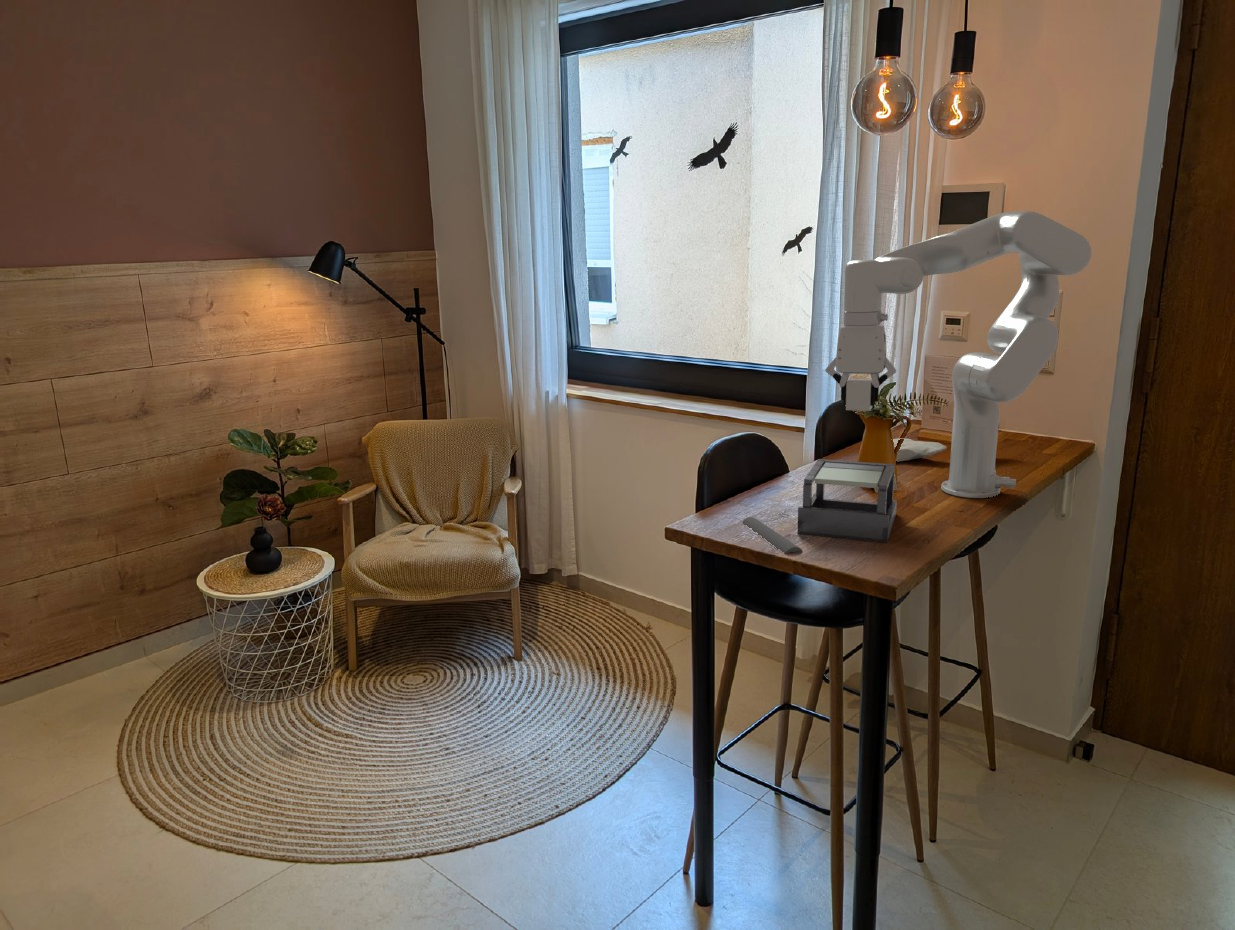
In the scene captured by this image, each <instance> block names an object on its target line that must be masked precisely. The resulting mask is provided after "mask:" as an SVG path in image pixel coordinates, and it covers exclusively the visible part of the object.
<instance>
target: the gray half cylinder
mask: <svg viewBox="0 0 1235 930" xmlns="http://www.w3.org/2000/svg"><path fill="white" fill-rule="evenodd" d="M742 523H743V524H744V525H747V526H748V527H749V528H752V530H753V531H754V532H757V533H758V535H761V536H762V538H765V539H766V540H767V541H768V542H770V543H771V544H772V545H774V546H775V547H776V548H777V549H776V548H775V547H774V548H775V549H776V550H778V549H780V550H781V551H782V552H784V553H788V554H791V553H790V552H795V553H801V552H803V549H802V548H801V547H799V546H798V545H796V544H795V543H794V542H792V541H790V540H789V539H788V538H785V537H784V536H782V535H781V534H780V533H778V532H776V531H775V530H774V529H772V528H771V527H769V526H768V525H767V524H764V523H763V522H762V521H761V520H759V519H757V518H756V517H753V516H749V517H746V518H744V519H743V520H742V522H741V524H742ZM758 535H757V536H758ZM762 538H761V539H762ZM768 542H767V543H768ZM771 544H770V545H771ZM772 545H771V546H772ZM782 552H781V553H782Z"/></svg>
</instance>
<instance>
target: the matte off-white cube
mask: <svg viewBox="0 0 1235 930" xmlns="http://www.w3.org/2000/svg"><path fill="white" fill-rule="evenodd" d="M872 384H873V382H872V378H848V381H847V386H846V405H845V411H861V412H862V411H863V412H864V411H865V412H866V411H867V412H870V411H871V410H872V408H873V406H871V388H872Z"/></svg>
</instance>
